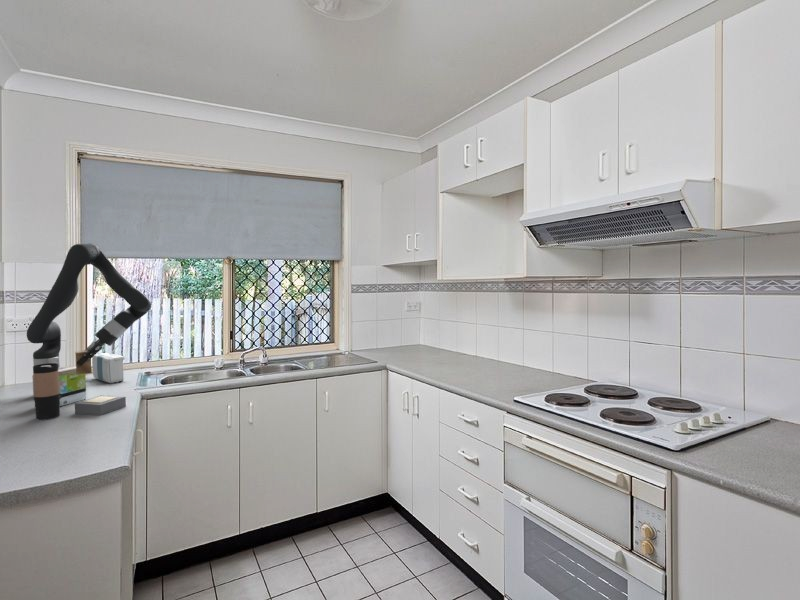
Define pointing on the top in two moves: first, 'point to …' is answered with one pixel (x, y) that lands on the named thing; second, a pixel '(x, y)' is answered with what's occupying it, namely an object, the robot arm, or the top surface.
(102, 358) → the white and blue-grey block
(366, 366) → the top surface
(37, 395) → the travel mug
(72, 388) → the tea box
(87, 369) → the walnut block
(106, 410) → the base
